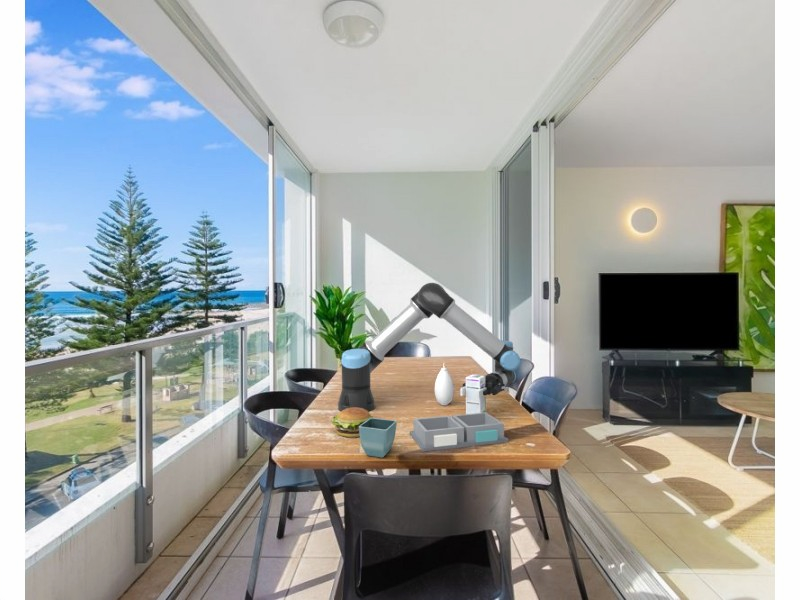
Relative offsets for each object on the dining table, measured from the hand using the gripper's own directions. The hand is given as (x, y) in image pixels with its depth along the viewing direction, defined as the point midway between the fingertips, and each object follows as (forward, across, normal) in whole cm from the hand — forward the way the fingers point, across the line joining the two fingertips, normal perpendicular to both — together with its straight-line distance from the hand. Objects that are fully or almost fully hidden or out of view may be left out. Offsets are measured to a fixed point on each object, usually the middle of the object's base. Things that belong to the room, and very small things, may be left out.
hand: (469, 393), depth 142 cm
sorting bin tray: (+16, -4, -10) cm, 20 cm away
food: (+31, +28, -11) cm, 43 cm away
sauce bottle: (-14, +18, -11) cm, 26 cm away
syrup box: (-5, 0, -9) cm, 11 cm away
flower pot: (+40, +10, -11) cm, 43 cm away
